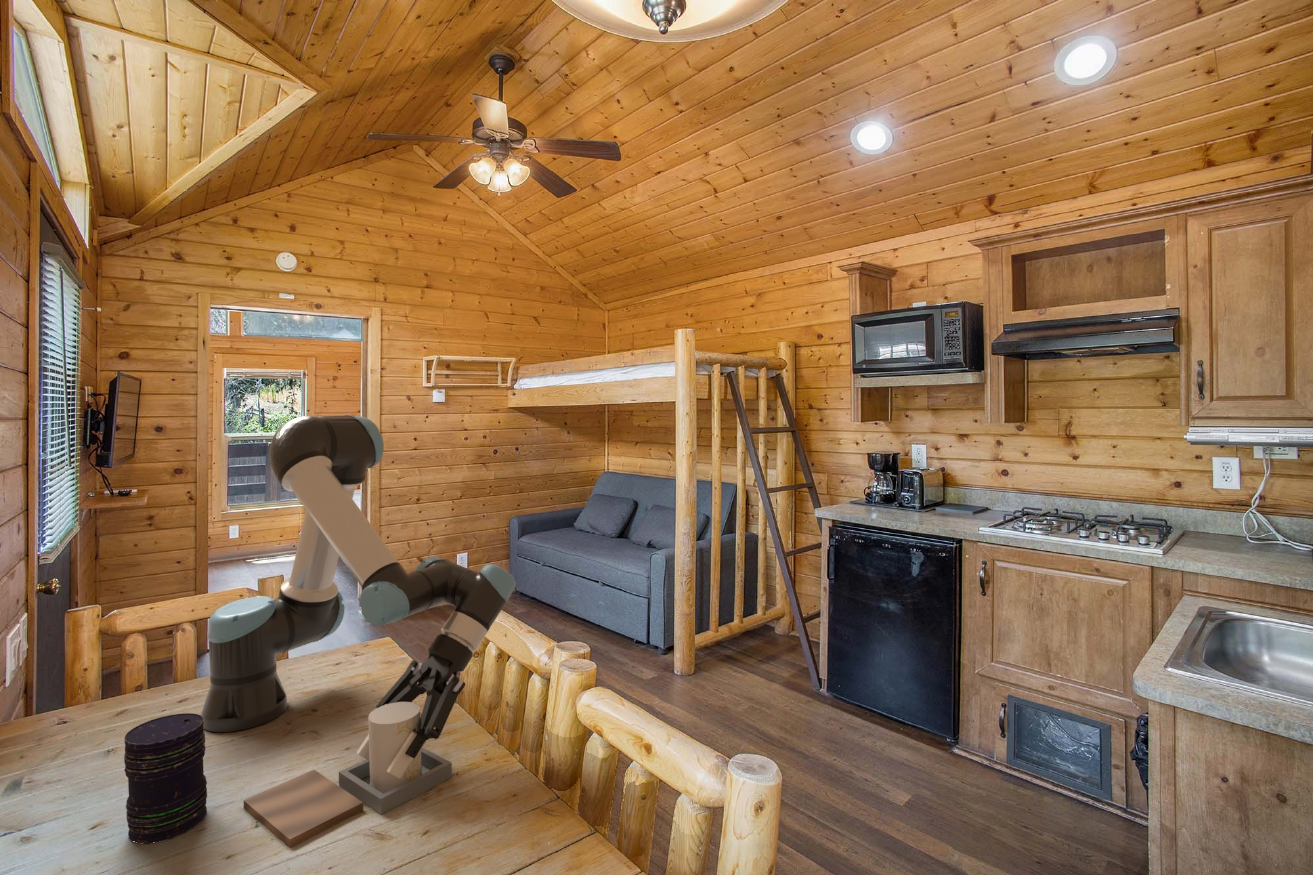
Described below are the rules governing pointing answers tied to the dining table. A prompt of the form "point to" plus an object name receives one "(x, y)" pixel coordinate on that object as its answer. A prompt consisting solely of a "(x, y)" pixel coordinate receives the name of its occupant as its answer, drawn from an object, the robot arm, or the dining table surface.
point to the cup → (391, 743)
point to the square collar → (393, 798)
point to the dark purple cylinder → (165, 777)
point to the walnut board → (302, 807)
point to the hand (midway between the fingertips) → (377, 765)
